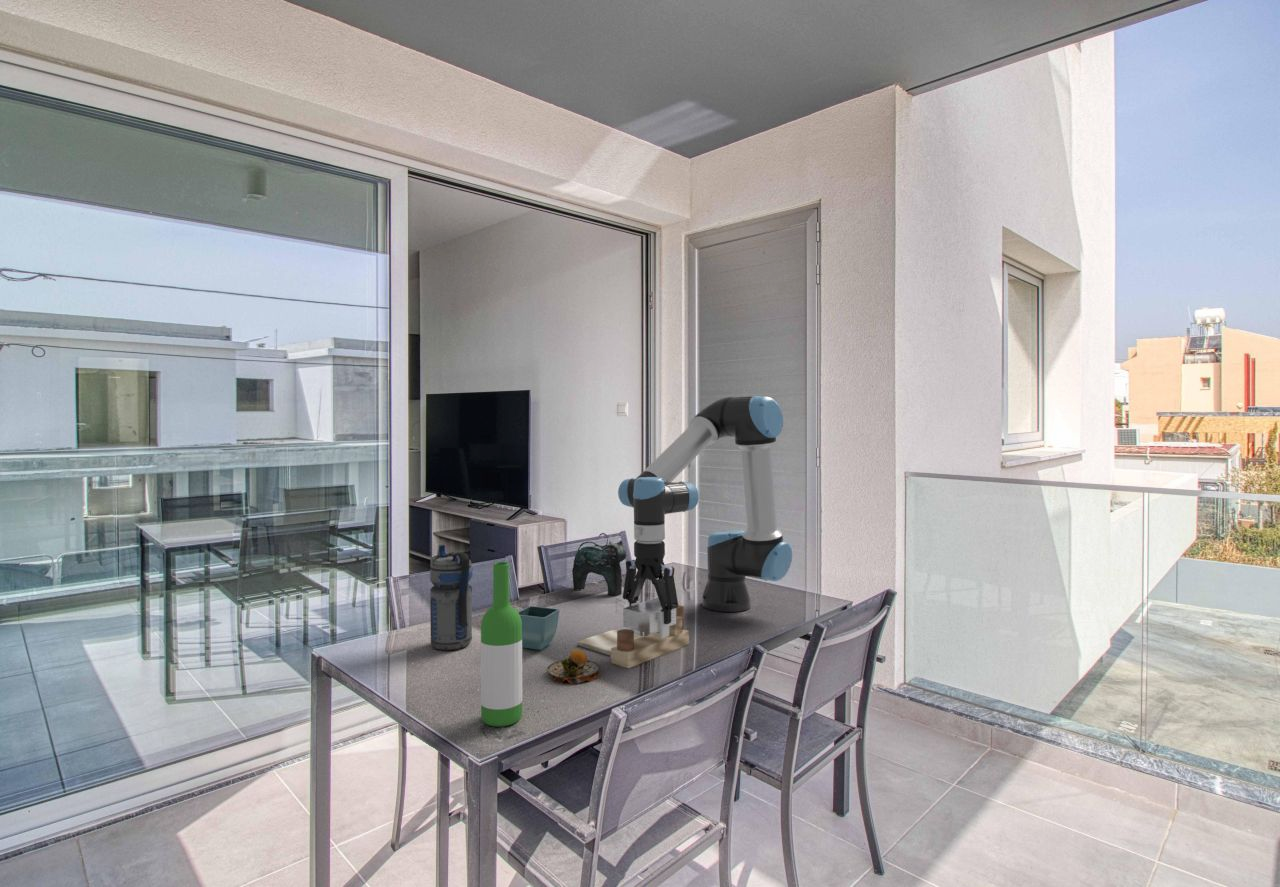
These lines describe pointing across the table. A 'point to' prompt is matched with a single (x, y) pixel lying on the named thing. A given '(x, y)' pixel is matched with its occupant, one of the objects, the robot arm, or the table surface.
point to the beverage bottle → (450, 600)
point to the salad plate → (574, 669)
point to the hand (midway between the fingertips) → (650, 632)
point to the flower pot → (538, 626)
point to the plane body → (649, 643)
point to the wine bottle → (501, 655)
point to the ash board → (602, 641)
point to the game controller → (600, 565)
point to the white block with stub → (645, 616)
